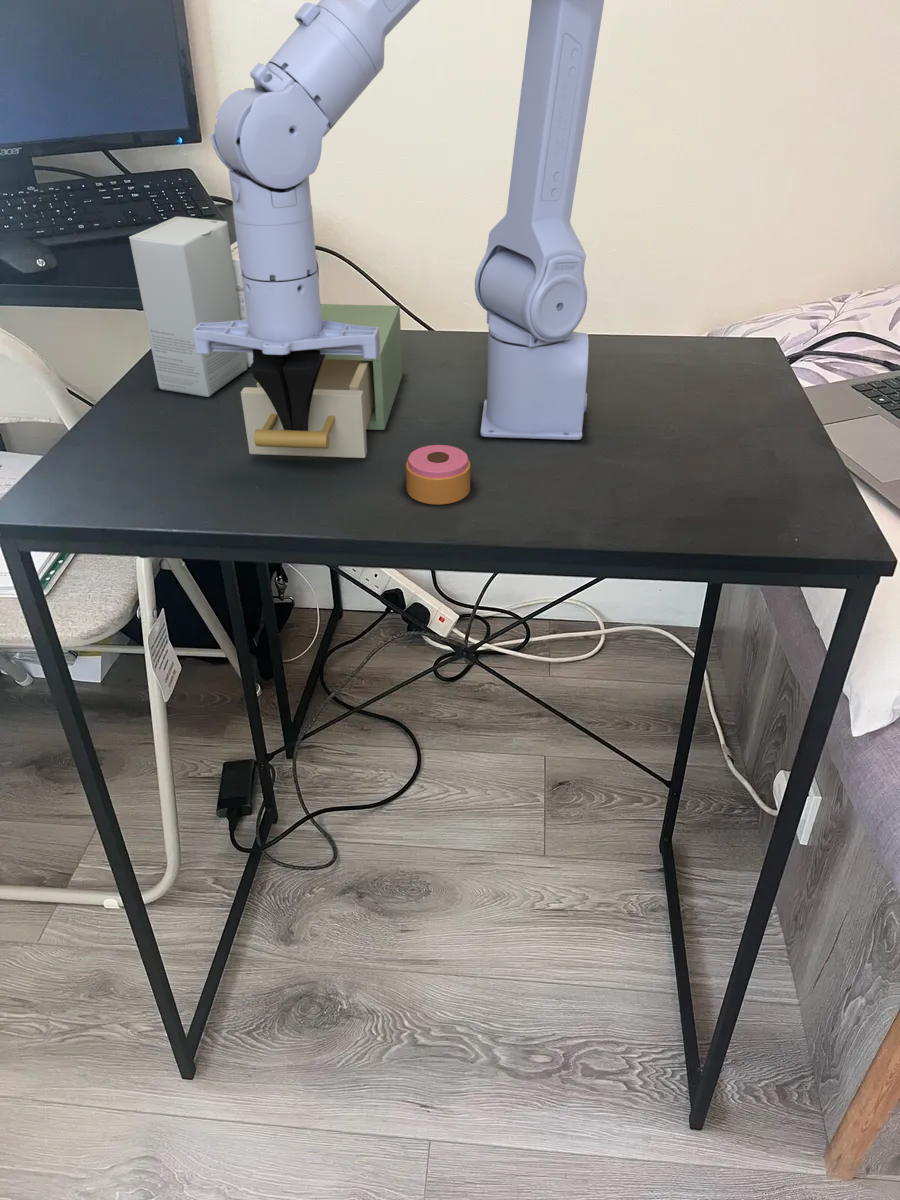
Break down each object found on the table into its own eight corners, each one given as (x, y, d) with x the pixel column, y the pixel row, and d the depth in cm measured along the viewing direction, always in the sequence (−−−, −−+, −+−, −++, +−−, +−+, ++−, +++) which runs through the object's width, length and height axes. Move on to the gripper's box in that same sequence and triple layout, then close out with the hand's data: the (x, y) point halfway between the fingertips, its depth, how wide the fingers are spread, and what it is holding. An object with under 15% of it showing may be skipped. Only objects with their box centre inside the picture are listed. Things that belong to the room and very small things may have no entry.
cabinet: (384, 430, 86) (380, 353, 82) (265, 426, 87) (255, 349, 83) (402, 376, 97) (399, 305, 93) (296, 373, 98) (288, 302, 94)
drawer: (355, 484, 76) (351, 420, 72) (234, 480, 76) (224, 416, 73) (384, 401, 90) (382, 343, 86) (282, 397, 90) (275, 341, 87)
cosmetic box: (201, 362, 101) (175, 214, 92) (253, 370, 99) (232, 219, 90) (156, 390, 94) (124, 234, 85) (210, 399, 92) (183, 240, 83)
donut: (472, 475, 79) (472, 443, 77) (468, 506, 74) (468, 473, 73) (410, 473, 79) (409, 441, 77) (403, 503, 75) (401, 470, 73)
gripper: (168, 284, 66) (199, 454, 74) (365, 289, 65) (375, 460, 73) (198, 258, 71) (223, 418, 79) (380, 262, 70) (387, 423, 78)
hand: (297, 436), depth 76 cm, fingers closed, pressing on drawer
